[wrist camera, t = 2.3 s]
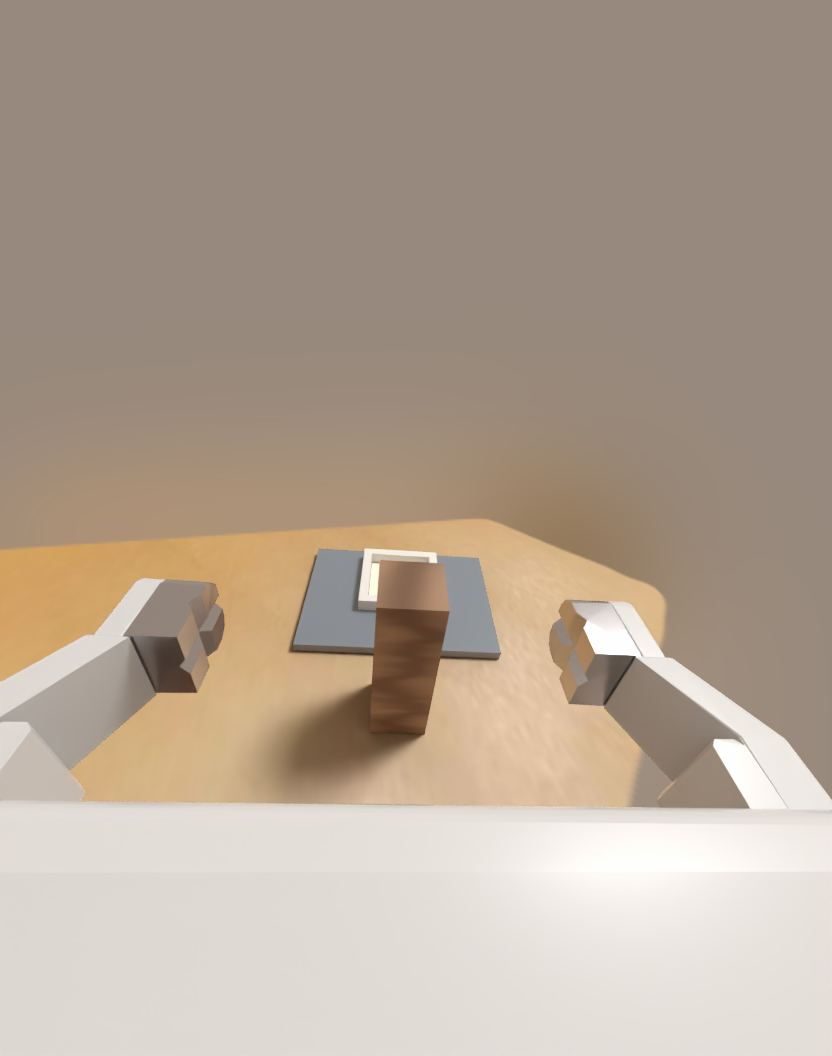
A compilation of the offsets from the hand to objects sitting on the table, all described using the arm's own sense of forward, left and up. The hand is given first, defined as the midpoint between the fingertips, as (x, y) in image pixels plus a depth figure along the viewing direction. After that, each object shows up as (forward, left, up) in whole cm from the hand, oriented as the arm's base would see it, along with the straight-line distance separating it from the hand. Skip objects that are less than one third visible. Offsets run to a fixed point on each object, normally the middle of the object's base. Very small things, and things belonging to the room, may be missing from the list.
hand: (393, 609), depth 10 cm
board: (+2, +29, -29) cm, 41 cm away
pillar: (+2, +15, -29) cm, 33 cm away
